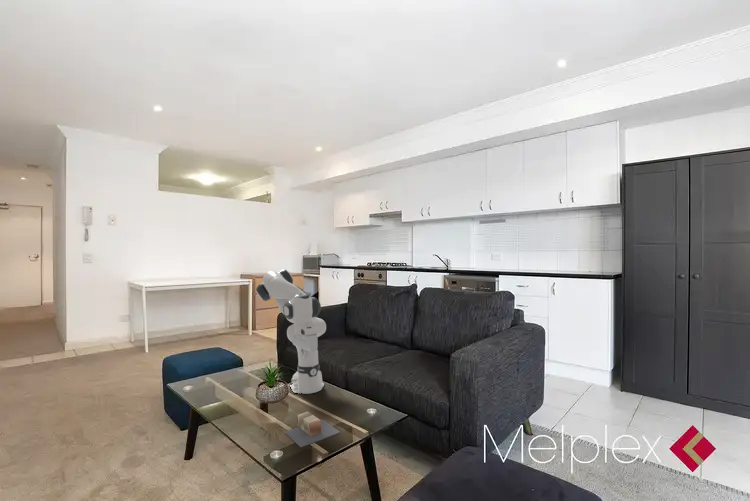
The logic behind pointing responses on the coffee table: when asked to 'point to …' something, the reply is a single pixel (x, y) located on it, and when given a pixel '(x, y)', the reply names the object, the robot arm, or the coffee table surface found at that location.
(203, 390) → the coffee table surface
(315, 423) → the birch block
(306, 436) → the rubber mat
